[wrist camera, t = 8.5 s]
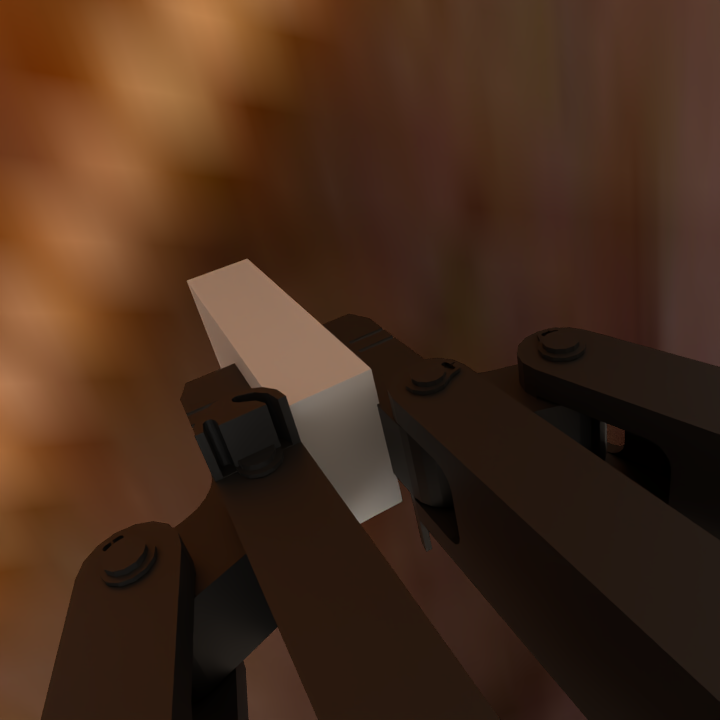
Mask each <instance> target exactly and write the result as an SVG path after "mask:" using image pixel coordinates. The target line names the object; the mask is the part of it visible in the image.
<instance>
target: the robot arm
mask: <svg viewBox="0 0 720 720" xmlns="http://www.w3.org/2000/svg"><path fill="white" fill-rule="evenodd" d="M187 283H188V285H189V288H190V290H191V293H192V296H193V298H194V301H195V303H196V306H197V308H198V311H199V314H200V316H201V319H202V321H203V324H204V326H205V329H206V332H207V334H208V337H209V339H210V342H211V344H212V347H213V350H214V352H215V355H216V357H217V360H218V362H219V365H220V368H221V369H219V370H217V371H214V372H212V373H209V374H207V375H205V376H202V377H200V378H197V379H195V380H193V381H190V382H188V383H186V384H185V387H184V390H183V393H182V396H181V399H180V400H181V402H182V405H183V407H184V409H185V412H186V414H187V416H188V419H189V421H190V423H191V426H192V428H193V430H194V433H195V438H196V440H197V442H198V445H199V447H200V449H201V451H202V454H203V456H204V458H205V460H206V463H207V465H208V467H209V469H210V472H211V474H212V483H211V488H210V490H209V492H208V494H207V497H206V499H205V500H204V501H203V502H202V504H201V505H200V506H199V507H198V509H197V510H195V511H194V512H193V513H192V514H191V515H190V516H189V517H188V518H186V519H185V520H184V521H183V522H181V523H180V524H179V525H177V526H176V527H175V528H172V527H171V526H170V525H169V524H165V523H159V522H154V521H152V522H147V523H141V524H135V525H133V526H130V527H128V528H126V529H124V530H121V531H119V532H117V533H115V534H113V535H112V536H111V537H109V538H108V539H107V540H105V541H104V542H102V543H101V544H100V545H98V546H97V547H96V548H95V549H94V551H93V552H92V553H91V554H90V555H89V556H88V557H87V559H86V560H85V561H84V562H83V564H82V566H81V568H80V570H79V573H78V575H77V577H76V579H75V583H74V587H73V591H72V595H71V599H70V603H69V607H68V611H67V616H66V620H65V624H64V628H63V632H62V636H61V640H60V644H59V648H58V652H57V656H56V660H55V664H54V668H53V672H52V676H51V680H50V684H49V688H48V692H47V696H46V701H45V705H44V709H43V713H42V717H41V720H248V703H247V685H246V668H245V665H244V661H243V660H244V659H245V658H246V657H247V656H248V655H249V654H250V653H251V652H252V651H253V650H254V649H255V648H256V647H257V646H258V645H259V644H260V643H261V642H262V641H263V640H264V639H265V638H267V637H268V636H269V635H270V634H271V633H272V632H273V631H274V630H275V629H276V628H277V627H278V628H279V631H280V633H281V635H282V637H283V640H284V642H285V644H286V647H287V649H288V651H289V654H290V656H291V658H292V661H293V663H294V665H295V667H296V670H297V672H298V674H299V677H300V679H301V681H302V684H303V686H304V688H305V691H306V693H307V695H308V697H309V700H310V702H311V704H312V707H313V709H314V711H315V714H316V716H317V718H318V720H500V718H499V717H498V716H497V714H496V713H495V711H494V710H493V709H492V707H491V706H490V704H489V703H488V702H487V700H486V699H485V698H484V696H483V695H482V693H481V692H480V691H479V689H478V688H477V686H476V685H475V684H474V682H473V681H472V679H471V678H470V677H469V675H468V674H467V672H466V671H465V670H464V668H463V667H462V665H461V664H460V663H459V661H458V660H457V658H456V657H455V656H454V654H453V653H452V651H451V650H450V649H449V647H448V646H447V644H446V643H445V642H444V640H443V639H442V637H441V636H440V635H439V633H438V632H437V631H436V629H435V628H434V626H433V625H432V624H431V622H430V621H429V619H428V618H427V617H426V615H425V614H424V612H423V611H422V610H421V608H420V607H419V605H418V604H417V603H416V601H415V600H414V598H413V597H412V596H411V594H410V593H409V591H408V590H407V589H406V587H405V586H404V584H403V583H402V582H401V580H400V579H399V577H398V576H397V575H396V573H395V572H394V570H393V569H392V568H391V566H390V565H389V563H388V562H387V561H386V559H385V558H384V557H383V555H382V554H381V552H380V551H379V550H378V548H377V547H376V545H375V544H374V543H373V541H372V540H371V538H370V537H369V536H368V534H367V533H366V531H365V530H364V529H363V527H362V526H361V524H360V523H362V522H364V521H366V520H368V519H370V518H372V517H374V516H376V515H377V514H379V513H381V512H383V511H385V510H387V509H389V508H391V507H393V506H395V505H396V504H398V503H400V502H402V497H401V493H400V488H399V484H398V480H397V478H398V479H399V480H400V481H401V482H402V483H403V484H404V486H405V487H406V488H407V489H408V490H409V491H410V492H411V497H412V501H413V506H414V510H415V515H416V519H417V523H418V528H419V532H420V537H421V541H422V544H423V546H424V548H425V550H426V552H427V551H429V550H431V549H432V546H431V541H430V537H429V532H430V533H431V534H432V536H433V537H434V538H435V539H436V540H437V541H438V543H439V544H440V545H441V546H442V547H443V549H444V550H445V551H446V552H447V553H448V554H449V556H450V557H451V558H452V559H453V560H454V562H455V563H456V564H457V565H458V566H459V568H460V569H461V570H462V571H463V572H464V573H465V575H466V576H467V577H468V578H469V579H470V581H471V582H472V583H473V584H474V585H475V586H476V588H477V589H478V590H479V591H480V592H481V594H482V595H483V596H484V597H485V598H486V600H487V601H488V602H489V603H490V604H491V605H492V607H493V608H494V609H495V610H496V611H497V613H498V614H499V615H500V616H501V617H502V618H503V620H504V621H505V622H506V623H507V624H508V626H509V627H510V628H511V629H512V630H513V631H514V633H515V634H516V635H517V636H518V637H519V639H520V640H521V641H522V642H523V643H524V645H525V646H526V647H527V648H528V649H529V650H530V652H531V653H532V654H533V655H534V656H535V658H536V659H537V660H538V661H539V662H540V663H541V665H542V666H543V667H544V668H545V669H546V671H547V672H548V673H549V674H550V675H551V676H552V678H553V679H554V680H555V681H556V682H557V684H558V685H559V686H560V687H561V688H562V690H563V691H564V692H565V693H566V694H567V695H568V697H569V698H570V699H571V700H572V701H573V703H574V704H575V705H576V706H577V707H578V708H579V710H580V711H581V712H582V713H583V714H584V716H585V717H586V718H587V719H588V720H720V367H718V366H714V365H710V364H707V363H703V362H700V361H696V360H692V359H689V358H685V357H682V356H678V355H674V354H671V353H667V352H663V351H660V350H656V349H653V348H649V347H645V346H642V345H638V344H634V343H631V342H627V341H624V340H620V339H616V338H613V337H609V336H605V335H602V334H598V333H595V332H591V331H587V330H583V329H576V328H570V327H568V328H549V329H547V330H546V329H545V330H542V331H539V332H536V333H534V334H532V335H530V336H528V337H526V338H525V339H524V340H523V341H522V342H521V343H520V344H519V346H518V352H517V358H518V365H514V366H509V367H505V368H501V369H497V370H493V371H488V372H482V373H476V372H474V371H473V370H472V369H470V368H469V367H467V366H466V365H464V364H462V363H460V362H457V361H455V360H452V359H444V358H432V359H423V358H422V357H421V356H419V355H418V354H416V353H415V352H414V351H412V350H411V349H410V348H408V347H407V346H406V345H404V344H403V343H402V342H400V341H399V340H398V339H396V338H393V336H392V335H391V334H390V333H388V332H387V331H385V330H382V328H381V327H380V326H379V325H377V324H376V323H375V322H373V321H372V320H371V319H369V318H366V317H361V316H357V315H352V314H347V315H345V316H342V317H340V318H337V319H335V320H333V321H330V322H328V323H325V324H323V325H321V324H320V323H319V322H318V321H317V320H316V319H315V318H313V317H312V316H311V315H310V314H309V313H308V312H307V311H306V310H305V309H303V308H302V307H301V306H300V305H299V304H298V303H297V302H296V301H294V300H293V299H292V298H291V297H290V296H289V295H288V294H287V293H285V292H284V291H283V290H282V289H281V288H280V287H279V286H278V285H276V284H275V283H274V282H273V281H272V280H271V279H270V278H269V277H267V276H266V275H265V274H264V273H263V272H262V271H261V270H260V269H258V268H257V267H256V266H255V265H254V264H253V263H252V262H251V261H249V260H248V259H245V260H242V261H239V262H236V263H234V264H231V265H228V266H225V267H223V268H220V269H217V270H214V271H212V272H209V273H206V274H204V275H201V276H198V277H195V278H193V279H190V280H187ZM607 424H610V425H613V426H615V427H618V428H620V429H623V430H625V444H624V446H617V445H613V444H610V443H608V442H607Z"/></svg>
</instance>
